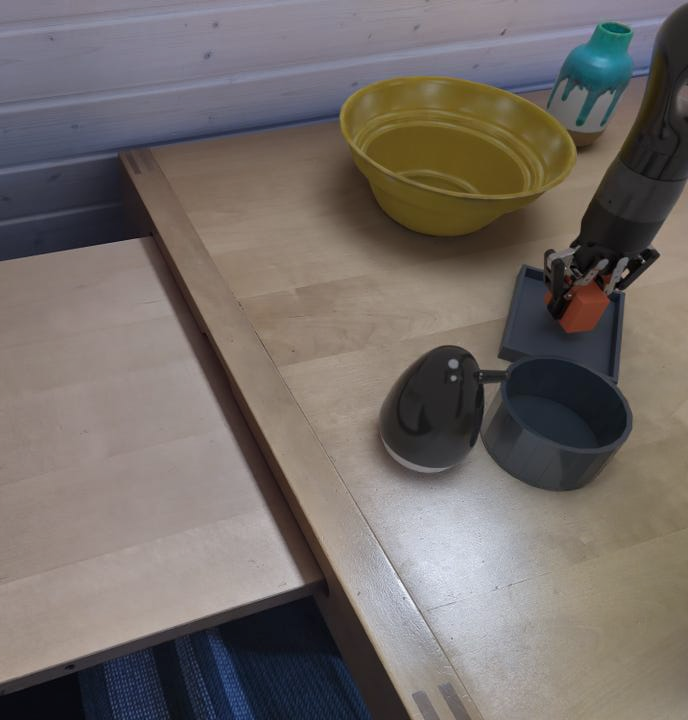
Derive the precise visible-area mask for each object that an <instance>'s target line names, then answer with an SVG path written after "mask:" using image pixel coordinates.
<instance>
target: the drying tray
mask: <svg viewBox="0 0 688 720" xmlns="http://www.w3.org/2000/svg"><path fill="white" fill-rule="evenodd" d="M543 280H544V268H540V267H536V266H532V265H528V264H525V263H522V265H521V267H520V269H519V270H518V273H517V276H516V281H515V285H514V289H513V293H512V297H511V301H510V306H509V309H508V314H507V318H506V320H505V321H506V322H505V326H504V330H503V333H502V338H501V342H500V347H499V350H498V354H497V358H499V359H502V360H505V361H509V362H512V363H514V362H516V361H517V360H519V359H520V358H524V357H528V356H532V355H557V356H562V357H567V358H571V359H574V360H576V361H579V362H581V363H584V364H586V365H588V366H590V367H592V368H593V369H595V370H597V371H598V372H600V373H602V374H603V375H605V376H606V377H607V378H608V379H609V380H610V381H611V382H613V383H614V384H615V385H616V386H617V385H618V383H619V375H620V363H621V351H622V338H623V326H624V316H625V315H624V314H625V302H626V292H625V291H619V290H618V289H615V290H613V291H612V293H611V294H609V295H608V296H607V297H608V299H609V300H610V302H609V304H608V306H607V307H606V309H605V310H604V312H603V314H602V315H601V317H600V319H599V320H598V322H597V323H596V325H595V327H594V328H593V330H590V331H581V332H572V333H566V331H565V330H564V328H563V327H562V326H561V324H560V323H559V321H558V320H554V318H553V317H552V316H551V314H550V313H549V311H548V309H547V304H546V303H545V301H544V298H545V296H546V295H547V293H548V291H549V290H548V288H547V287H546V285H545V284H544V282H543Z"/></svg>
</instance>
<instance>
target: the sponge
mask: <svg viewBox="0 0 688 720" xmlns="http://www.w3.org/2000/svg"><path fill="white" fill-rule="evenodd" d="M582 275H583V274H582ZM567 284H568V285H569V286H570V285H571V284H572V280H570V281H569V282H568V283H567ZM551 297H552V294H551V292H550V291H548V293H547V295H546V296H545V298H544V301H545V303H546V304H547V305H548V303H549V301H550V299H551ZM609 302H610V300H609V299H608V297H607V296H606V295H605V294H604V292H603V291H602V290H601V289H600V287H599V286H598V285H597V284H596V282H595V281H594V280H593V279H592V280H591V281H590V283H589V284H588V285H587V286H586V287H581V288H580V290H579V291H578V292H577V293H576V294H575V296H574V297H573V298H572V301H571V303H570V305H569V306H568V308H567V310H566V312H565V313H564V315H563V317H562V319H560V320H558V321H559V323H560V324H561V326H562V327H563V328H564V330H565V331H566V333H572V332H581V331H590V330H593V328H594V327H595V325H596V323H597V322H598V320H599V319H600V317H601V315H602V314H603V312H604V310H605V309H606V307H607V306H608V304H609Z"/></svg>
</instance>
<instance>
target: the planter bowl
mask: <svg viewBox="0 0 688 720" xmlns="http://www.w3.org/2000/svg"><path fill="white" fill-rule="evenodd" d="M338 123H339V124H338V125H339V129H340V131H341V134H342V136H343V137H344V139H345V141H346V142H347V143H348V147H349V151H350V154H351V158H352V160H353V162H354V164H355V165H356V167H357V168H358V170H359V171H360V172H361V173H362V175H363V176H364V177H365V178H367V180H368V183H369V186H370V189H371V191H372V193H373V195H374V198H375V200H376V202H377V203H378V205H379V207H380V208H381V209H382V210H383V211H384V213H385V214H386V215H387V216H389V217H390V219H392V220H393V221H395V222H397V223H398V224H399V225H401V226H403V227H405V228H407V229H408V230H411V231H412V232H415V233H419V234H421V235H422V234H423V235H426V236H432V237H456V236H464V235H468V234H472V233H474V232H477V231H479V230H481V229H482V228H484V227H486V226H488V225H489V224H491V223H492V222H494V221H496V220H497V219H498V218H500V217H501V216H502V215H504V214H507V213H511V212H514V211H517V210H520V209H522V208H525V207H526V206H528V205H530V204H532V203H533V202H535V201H536V200H537V199H539V198H540V197H542V196H543V195H544V194H545V193H546V192H547V191H549V190H552V189H553V188H555V187H557V186H559V185H560V184H562V183H563V182H565V181H566V180H567V178H569V177H570V175H571V174H572V173H573V171H574V169H575V167H576V165H577V159H578V154H577V147H575V144H574V142H573V139H572V138H571V136H570V135H569V133H568V132H567V130H566V129H565V128H564V127H563V126H562V124H561V123H560V122H559V121H557V120H556V119H555V118H554V117H553V116H552V115H550V114H549V113H547V112H546V111H545V109H543V108H542V107H540V106H538V105H537V104H535V103H533V102H532V101H530V100H528V99H526V98H524V97H521V96H519V95H517V94H514V93H512V92H510V91H508V90H504V89H501V88H500V87H497V86H492V85H490V84H486V83H482V82H477V81H473V80H470V79H469V80H468V79H464V78H459V77H458V78H457V77H451V76H450V77H449V76H439V75H411V76H409V75H407V76H399V77H392V78H388V79H383V80H380V81H376V82H372V83H371V84H368V85H366V86H363V87H361V88H359V89H357V90H356V91H354V92H353V93H352V94H351V95H350V96H349V97H347V98H346V100H345V101H344V103H343V104H342V106H341V108H340V111H339V117H338Z"/></svg>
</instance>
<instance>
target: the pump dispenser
mask: <svg viewBox="0 0 688 720" xmlns="http://www.w3.org/2000/svg"><path fill="white" fill-rule="evenodd" d="M509 380H510V372H509V371H506V370H501V369H500V370H499V369H483V368H482V369H481V368H480V365H479V363H478V361H477V360H476V358H475V356H474V355H473V354H472V353H471V352H470V351H469V350H467V349H465V348H464V347H462V346H460V345H455V344H443V345H439V346H436V347H434V348H432V349H429V350H427V351H426V352H425V353H423V354H422V355H420V356H419V357H418V358H416V359H415V360H414V361H413V362H412V363H410V364H409V366H407V367H406V368H405V369H404V370H403V371H402V373H401V374H400V375H399V376H398V377H397V379H396V380H395V381H394V383H393V384H392V386H391V387H390V389H389V390H388V392H387V394H386V396H385V397H384V400H383V401H382V403H381V406H380V408H379V411H378V416H377V426H378V430H379V433H380V437H381V441H382V443H383V445H384V447H385V449H386V451H387V452H388V454H389V455H390V456H391V457H392V458H393V459H394V460H395V462H397V463H399V465H401V466H403V467H404V468H406V469H409V470H412V471H415V472H419V473H426V474H429V473H439V472H443V471H446V470H448V469H451V468H452V467H454V466H457V465H458V464H460V463H462V462H463V461H465V460H466V459H467V458H468V457H469V456H470V454H471V453H472V451H473V449H474V448H475V446H476V444H477V441H478V439H479V435H480V433H481V431H480V429H481V425H482V420H483V415H484V410H485V404H486V403H485V401H486V399H485V398H486V397H485V396H486V395H485V386H484V385H488V384H498V383H500V382H508V381H509Z"/></svg>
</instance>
